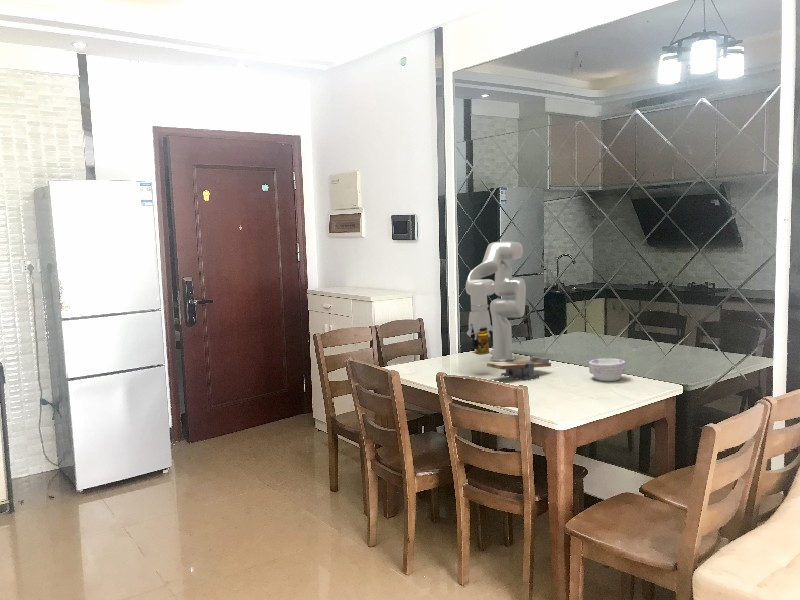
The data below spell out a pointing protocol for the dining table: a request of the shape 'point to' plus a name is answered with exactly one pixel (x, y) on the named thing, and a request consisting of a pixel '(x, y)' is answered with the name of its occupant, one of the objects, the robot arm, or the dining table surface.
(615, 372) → the lavender white bowl
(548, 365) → the beam
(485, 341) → the condiment
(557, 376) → the dining table surface
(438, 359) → the dining table surface
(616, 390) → the dining table surface
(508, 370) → the stand
